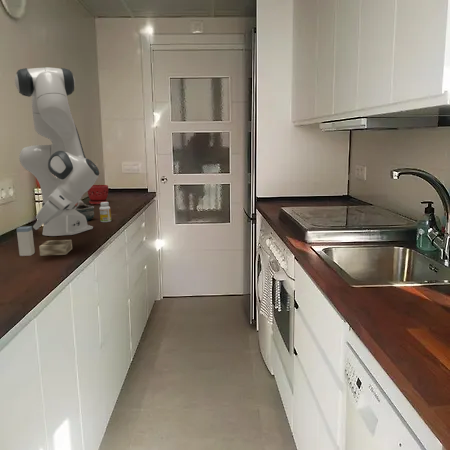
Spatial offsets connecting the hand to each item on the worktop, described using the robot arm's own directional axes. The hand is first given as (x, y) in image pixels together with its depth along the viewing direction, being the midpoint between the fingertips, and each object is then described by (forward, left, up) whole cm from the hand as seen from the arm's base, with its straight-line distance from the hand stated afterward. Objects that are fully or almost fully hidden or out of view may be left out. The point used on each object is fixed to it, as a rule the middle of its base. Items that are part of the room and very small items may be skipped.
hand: (39, 225), depth 163 cm
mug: (-56, -42, -11) cm, 70 cm away
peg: (+3, -5, -10) cm, 12 cm away
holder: (-4, +3, -10) cm, 11 cm away
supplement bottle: (-58, -28, -11) cm, 65 cm away
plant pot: (-104, -82, -11) cm, 133 cm away
